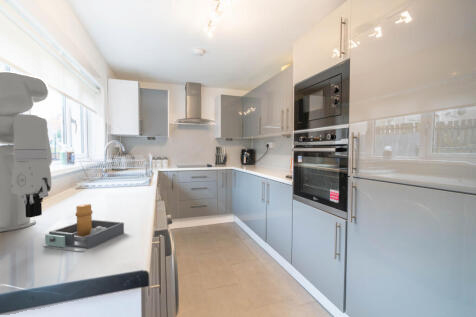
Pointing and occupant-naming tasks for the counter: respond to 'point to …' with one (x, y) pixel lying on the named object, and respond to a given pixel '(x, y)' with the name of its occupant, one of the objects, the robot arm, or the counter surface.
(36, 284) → the counter surface
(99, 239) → the tray
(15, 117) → the robot arm
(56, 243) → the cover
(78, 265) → the counter surface
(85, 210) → the peg
